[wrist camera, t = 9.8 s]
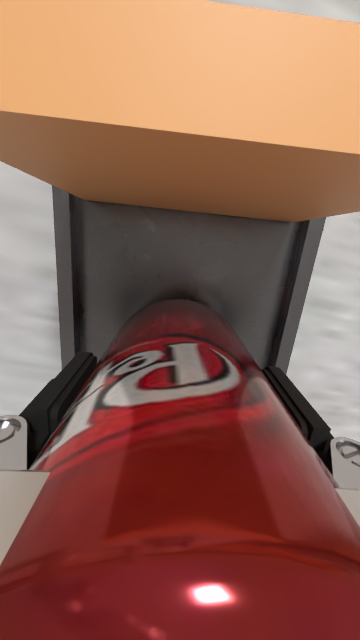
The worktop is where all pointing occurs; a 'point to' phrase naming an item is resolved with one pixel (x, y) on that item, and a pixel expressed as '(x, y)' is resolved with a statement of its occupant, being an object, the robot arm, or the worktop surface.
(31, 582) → the soda can
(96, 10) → the sliding jaw
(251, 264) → the clamp bed
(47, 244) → the worktop surface
